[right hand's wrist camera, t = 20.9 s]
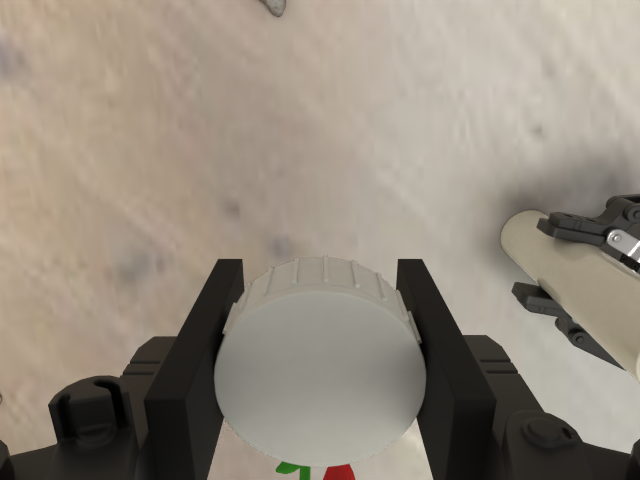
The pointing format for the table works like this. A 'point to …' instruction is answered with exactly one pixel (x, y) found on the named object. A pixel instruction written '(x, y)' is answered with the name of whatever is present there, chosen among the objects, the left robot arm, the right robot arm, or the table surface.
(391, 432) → the lid
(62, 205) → the table surface
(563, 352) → the table surface
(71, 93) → the table surface
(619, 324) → the beige long cylinder
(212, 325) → the right robot arm
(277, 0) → the syringe
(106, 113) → the table surface
